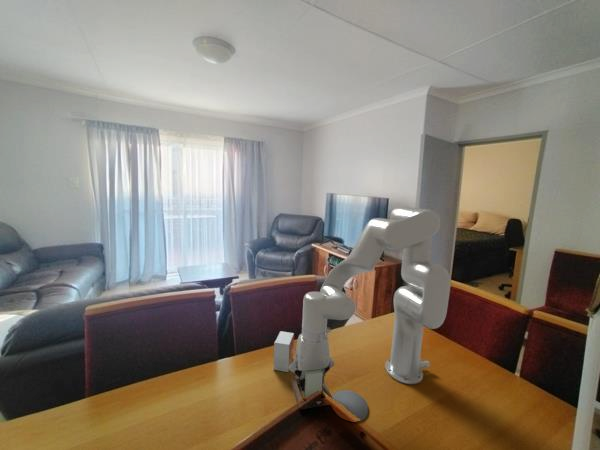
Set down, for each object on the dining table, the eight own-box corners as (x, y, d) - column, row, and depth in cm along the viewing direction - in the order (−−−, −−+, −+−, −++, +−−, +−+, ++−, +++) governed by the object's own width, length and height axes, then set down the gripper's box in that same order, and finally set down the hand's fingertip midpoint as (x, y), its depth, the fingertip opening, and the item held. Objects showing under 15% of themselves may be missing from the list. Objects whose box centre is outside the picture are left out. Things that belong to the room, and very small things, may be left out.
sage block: (315, 385, 85) (316, 360, 83) (321, 399, 79) (322, 372, 78) (300, 387, 83) (301, 361, 82) (305, 402, 78) (306, 374, 76)
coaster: (357, 389, 83) (357, 387, 83) (375, 418, 73) (375, 416, 73) (325, 394, 81) (325, 392, 81) (339, 425, 70) (339, 423, 70)
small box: (288, 373, 90) (289, 345, 88) (272, 370, 91) (273, 342, 89) (293, 358, 97) (294, 332, 96) (279, 356, 98) (280, 330, 97)
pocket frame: (320, 377, 88) (320, 372, 88) (332, 405, 77) (332, 399, 77) (290, 382, 85) (291, 376, 85) (299, 410, 74) (299, 404, 74)
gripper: (335, 324, 84) (331, 374, 86) (284, 328, 80) (282, 381, 82) (344, 337, 77) (340, 391, 79) (289, 342, 73) (286, 400, 75)
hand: (310, 386), depth 81 cm, fingers closed on sage block, 5 cm apart
